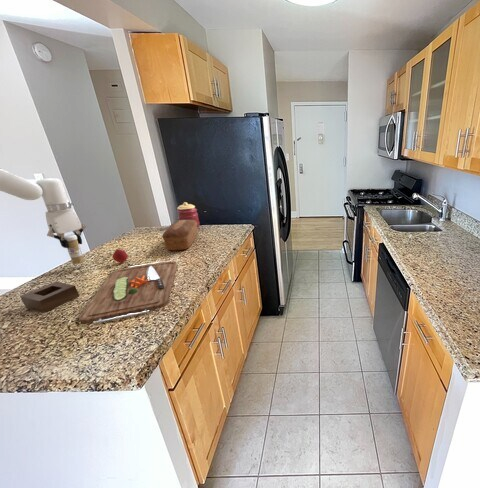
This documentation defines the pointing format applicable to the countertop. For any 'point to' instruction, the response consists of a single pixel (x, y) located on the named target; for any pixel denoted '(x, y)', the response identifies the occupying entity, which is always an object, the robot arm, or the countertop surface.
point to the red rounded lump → (120, 255)
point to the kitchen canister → (188, 212)
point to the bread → (180, 235)
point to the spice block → (49, 296)
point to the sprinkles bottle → (74, 249)
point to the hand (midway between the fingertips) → (72, 245)
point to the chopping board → (131, 292)
